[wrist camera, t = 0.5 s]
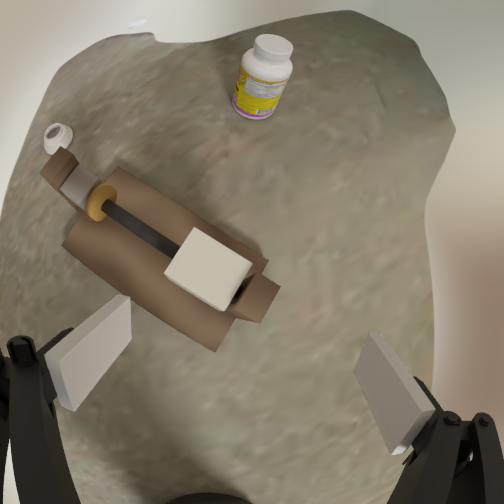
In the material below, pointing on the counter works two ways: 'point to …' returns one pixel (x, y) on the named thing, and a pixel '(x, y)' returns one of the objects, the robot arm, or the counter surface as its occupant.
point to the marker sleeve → (208, 269)
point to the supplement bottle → (262, 76)
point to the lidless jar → (57, 137)
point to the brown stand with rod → (150, 249)
